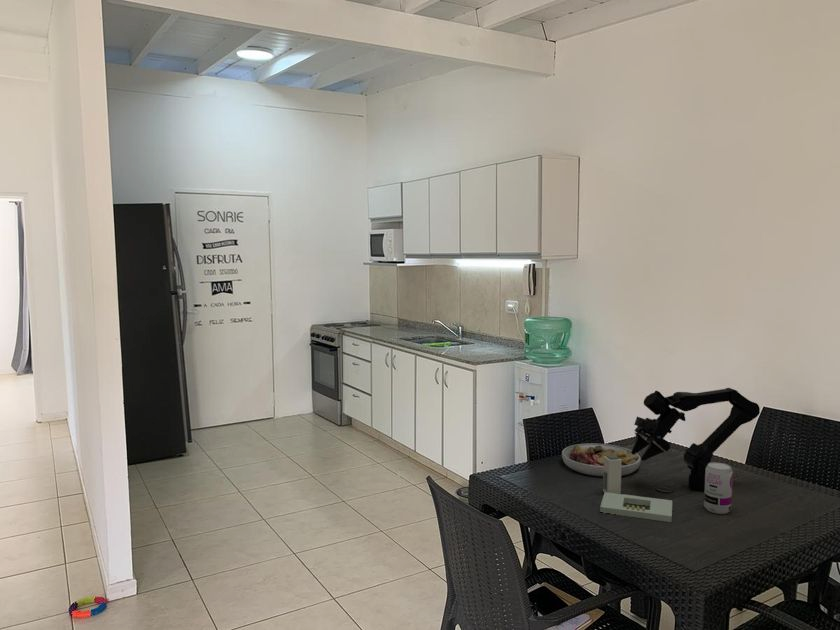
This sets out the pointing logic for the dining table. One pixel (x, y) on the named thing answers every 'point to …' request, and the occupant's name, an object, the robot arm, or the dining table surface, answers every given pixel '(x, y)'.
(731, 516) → the dining table surface
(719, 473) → the supplement can
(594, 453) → the bowl
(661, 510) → the board
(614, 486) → the grey tall block
